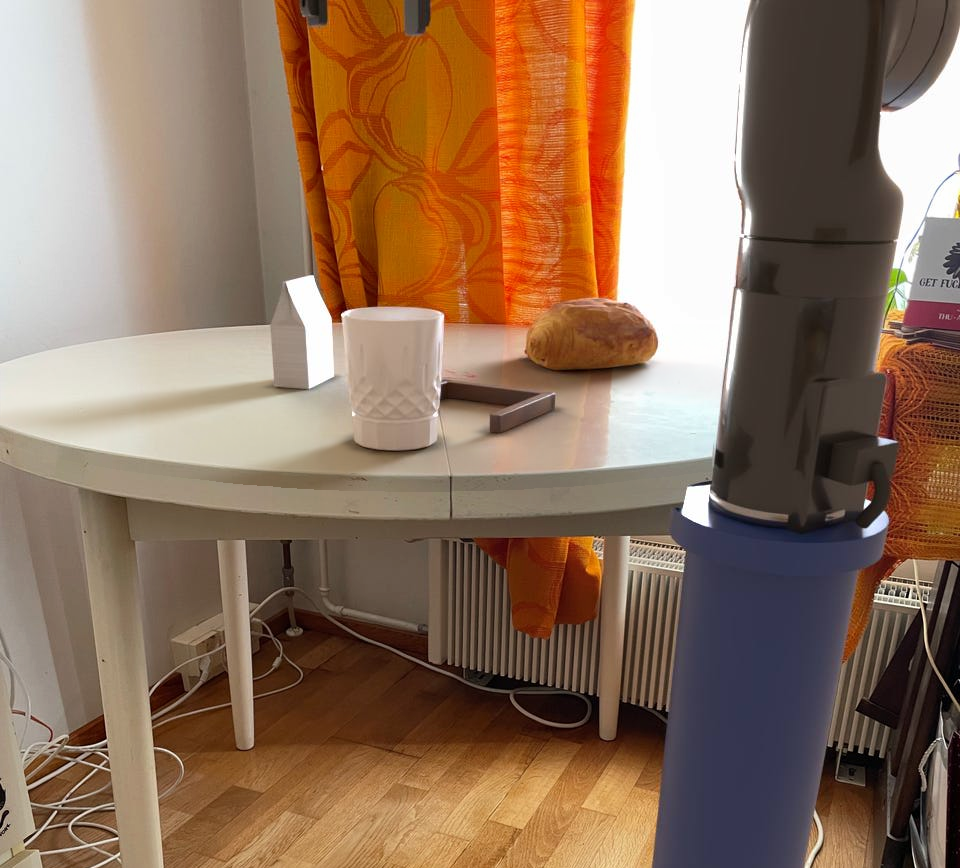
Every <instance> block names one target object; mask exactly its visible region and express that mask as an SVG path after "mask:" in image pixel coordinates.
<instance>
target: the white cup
mask: <svg viewBox="0 0 960 868" xmlns="http://www.w3.org/2000/svg"><path fill="white" fill-rule="evenodd" d="M444 322H445V314H444V313H443V312H442V311H439V310H436V309H431V308H424V307H412V306H371V307H360V308H353V309H352V308H351V309H348V310H344V311H343V312H342V313H341V323H342V333H343V345H344V347H343V348H344V360H345V371H346V372H345V373H346V377H347V392H348V397H349V408H350V409H351V411H352V412H351V415H352V426H353V440H354V443H355V444H357V445H359V446H360V447H364V448H368V449H372V450H378V451H394V452H396V451H397V452H398V451H411V450H412V451H413V450H419V449H423V448H428V447H430V446H431V445H433V444H435V443H437V441H438V420H439V419H438V416H439V411H438V410H439V408H440V405H441V399H440V392H441V380H442V375H443V373H442V372H443V352H444V351H443V346H444V328H445V327H444V326H445V323H444Z"/></svg>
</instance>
